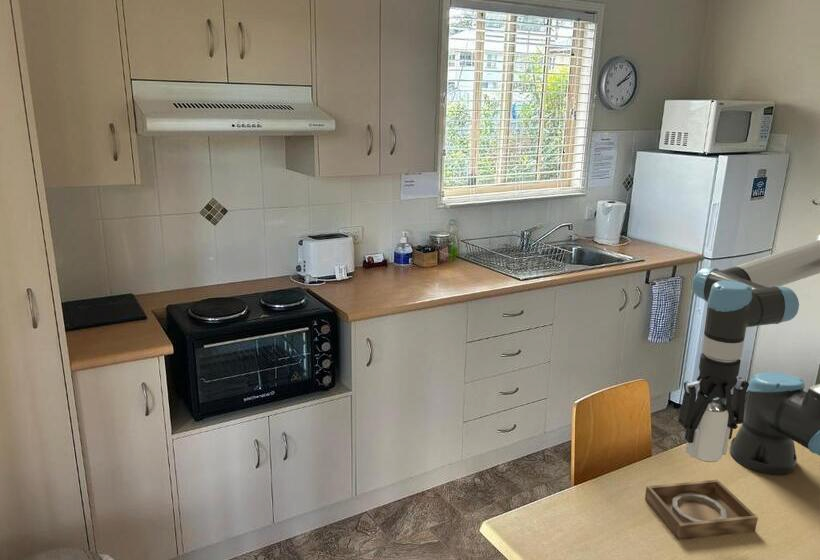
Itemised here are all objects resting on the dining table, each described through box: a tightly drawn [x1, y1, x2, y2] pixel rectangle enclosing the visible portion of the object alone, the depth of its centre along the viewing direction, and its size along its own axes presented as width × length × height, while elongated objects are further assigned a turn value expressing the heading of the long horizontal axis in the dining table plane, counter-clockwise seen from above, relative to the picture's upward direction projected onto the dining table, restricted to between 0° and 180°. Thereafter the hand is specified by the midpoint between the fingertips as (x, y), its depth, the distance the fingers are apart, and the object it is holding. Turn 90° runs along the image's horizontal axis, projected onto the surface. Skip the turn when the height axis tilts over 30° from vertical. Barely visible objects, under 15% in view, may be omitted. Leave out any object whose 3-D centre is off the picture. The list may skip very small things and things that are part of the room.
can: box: [695, 399, 728, 463], centre depth 137 cm, size 6×6×12 cm
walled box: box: [644, 479, 759, 541], centre depth 142 cm, size 18×14×4 cm
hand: (705, 452), depth 139 cm, fingers closed on can, 6 cm apart
